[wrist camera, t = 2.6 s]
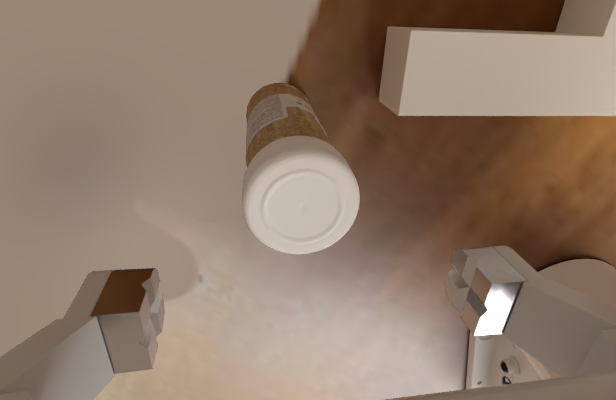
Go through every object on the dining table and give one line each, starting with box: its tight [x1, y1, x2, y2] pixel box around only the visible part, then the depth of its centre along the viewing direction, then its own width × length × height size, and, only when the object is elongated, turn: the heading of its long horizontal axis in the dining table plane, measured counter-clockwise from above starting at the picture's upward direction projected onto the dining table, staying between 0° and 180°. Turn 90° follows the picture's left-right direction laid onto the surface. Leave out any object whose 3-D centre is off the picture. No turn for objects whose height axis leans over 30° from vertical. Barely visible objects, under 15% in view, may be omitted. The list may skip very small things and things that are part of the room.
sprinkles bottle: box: [242, 83, 360, 254], centre depth 20 cm, size 5×5×14 cm
